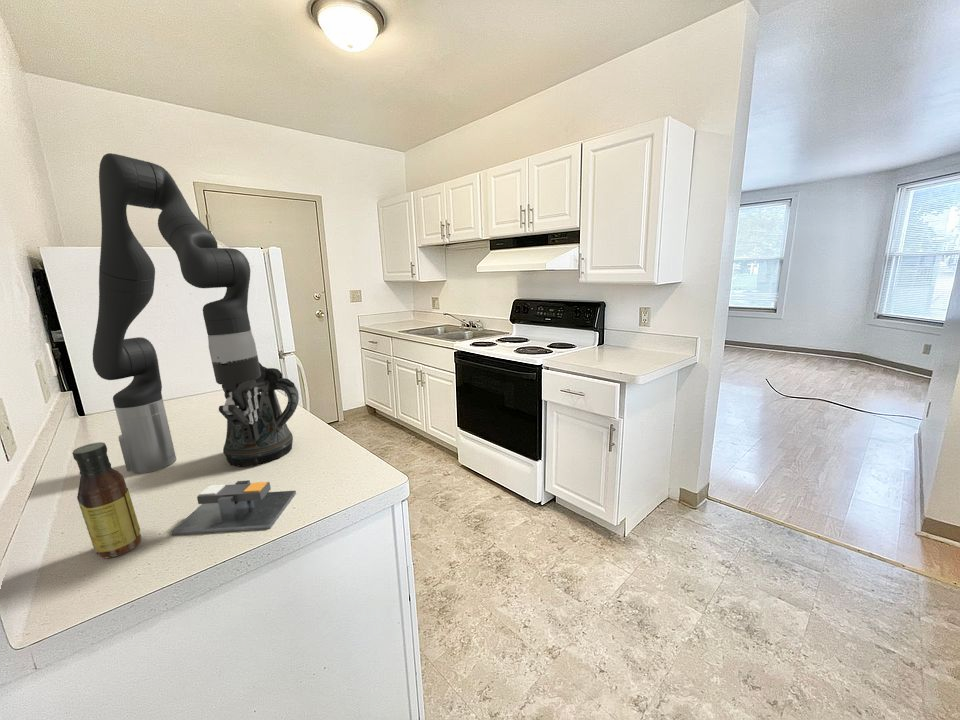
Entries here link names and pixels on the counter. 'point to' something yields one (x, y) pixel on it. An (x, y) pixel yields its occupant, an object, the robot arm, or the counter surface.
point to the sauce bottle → (105, 503)
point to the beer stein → (265, 425)
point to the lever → (234, 492)
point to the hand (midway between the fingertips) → (252, 441)
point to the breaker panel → (236, 514)
